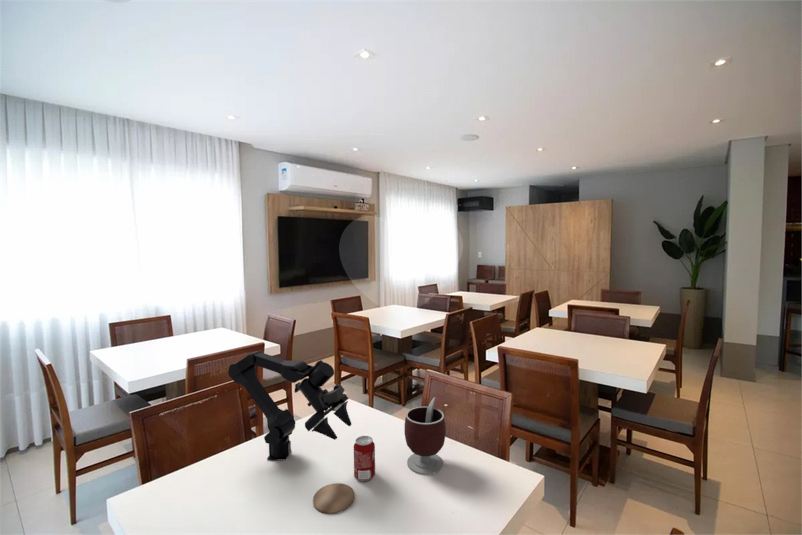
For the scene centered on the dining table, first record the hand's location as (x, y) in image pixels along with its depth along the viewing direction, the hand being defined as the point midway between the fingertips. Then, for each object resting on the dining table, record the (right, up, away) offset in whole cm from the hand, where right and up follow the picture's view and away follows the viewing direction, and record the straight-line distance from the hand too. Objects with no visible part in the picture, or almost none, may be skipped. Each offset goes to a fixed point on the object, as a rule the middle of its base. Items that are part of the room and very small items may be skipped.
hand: (343, 431), depth 121 cm
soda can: (+7, -14, -2) cm, 16 cm away
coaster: (-1, -14, -12) cm, 19 cm away
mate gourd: (+27, -13, +5) cm, 31 cm away
